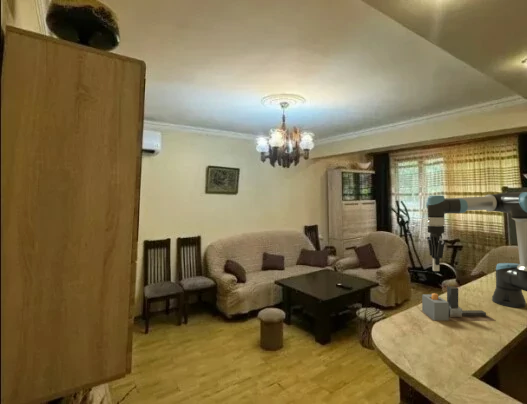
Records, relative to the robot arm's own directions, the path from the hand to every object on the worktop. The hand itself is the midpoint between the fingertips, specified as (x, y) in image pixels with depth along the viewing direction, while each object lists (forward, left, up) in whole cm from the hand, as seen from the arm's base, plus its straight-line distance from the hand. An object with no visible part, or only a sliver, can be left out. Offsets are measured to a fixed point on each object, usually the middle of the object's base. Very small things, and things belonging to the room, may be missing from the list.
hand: (436, 270), depth 154 cm
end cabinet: (+1, 0, -24) cm, 24 cm away
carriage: (-8, 0, -24) cm, 25 cm away
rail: (-14, 0, -23) cm, 27 cm away
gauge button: (+1, 0, -20) cm, 20 cm away
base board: (-10, 0, -24) cm, 26 cm away
